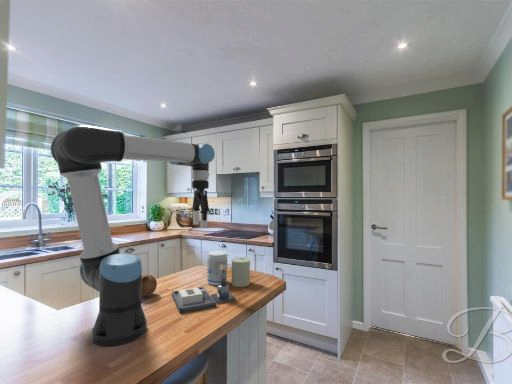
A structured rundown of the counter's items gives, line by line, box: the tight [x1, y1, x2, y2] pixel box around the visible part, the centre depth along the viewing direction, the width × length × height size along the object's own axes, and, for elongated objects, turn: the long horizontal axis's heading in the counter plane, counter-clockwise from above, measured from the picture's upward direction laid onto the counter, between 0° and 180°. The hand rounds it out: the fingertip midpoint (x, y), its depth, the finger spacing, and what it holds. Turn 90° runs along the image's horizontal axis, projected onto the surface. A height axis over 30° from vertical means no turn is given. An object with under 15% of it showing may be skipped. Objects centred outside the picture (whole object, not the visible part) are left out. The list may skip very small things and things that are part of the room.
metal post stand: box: [210, 264, 236, 305], centre depth 110 cm, size 8×8×14 cm
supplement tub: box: [206, 250, 228, 286], centre depth 130 cm, size 10×10×15 cm
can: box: [230, 257, 251, 288], centre depth 129 cm, size 9×9×12 cm
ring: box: [177, 287, 206, 305], centre depth 107 cm, size 8×10×3 cm
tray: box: [171, 286, 217, 314], centre depth 108 cm, size 14×19×2 cm
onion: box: [141, 274, 158, 298], centre depth 112 cm, size 10×9×10 cm
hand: (199, 226), depth 122 cm, fingers open, 13 cm apart
